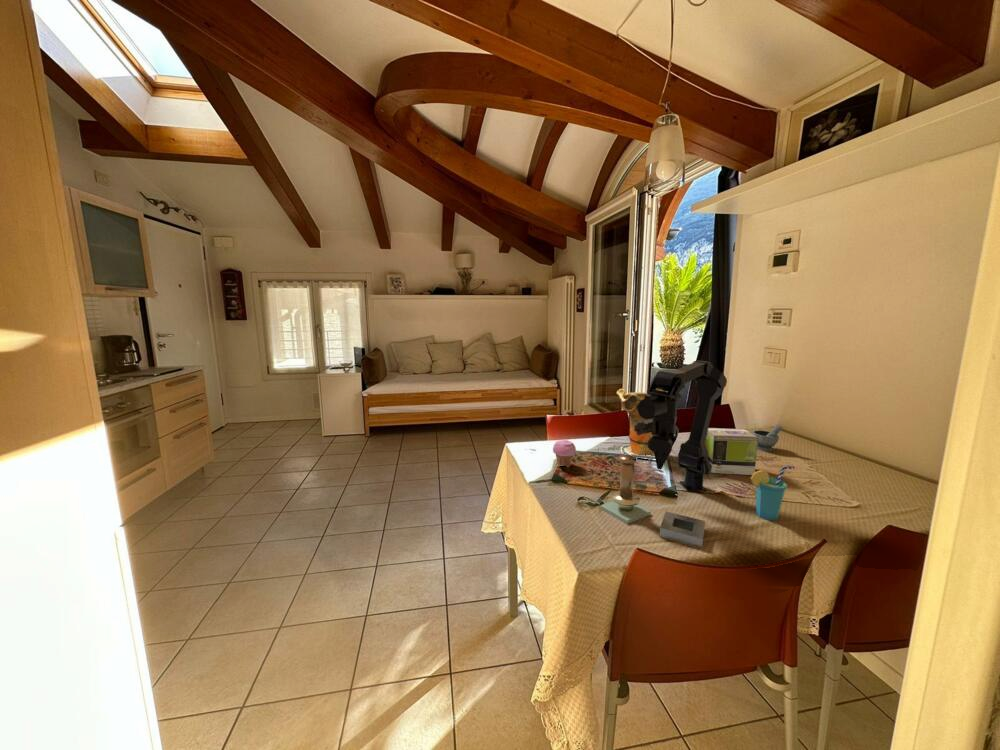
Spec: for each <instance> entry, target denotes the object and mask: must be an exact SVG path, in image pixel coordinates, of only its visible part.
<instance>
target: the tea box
mask: <svg viewBox="0 0 1000 750" xmlns="http://www.w3.org/2000/svg"><path fill="white" fill-rule="evenodd" d="M705 445H706V448H707V450H708V457H707V459H708V460H709V462H710V464H711V465H712V468H711V472H710V473H711V474H728V475H744V476H745V475H747V476H752V475H753V473H754V472H756V464H757V455H758V449H757V445H758V437H757V436H755V435H754V434H752V432H750V431H749V430H747V429H745V428H725V427H724V428H722V427H721V428H719V427H718V428H717V427H709V428H708V432H707V436H706V440H705Z"/></svg>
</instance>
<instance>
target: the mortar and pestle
mask: <svg viewBox="0 0 1000 750" xmlns="http://www.w3.org/2000/svg"><path fill="white" fill-rule="evenodd" d="M783 430H784V428H783V426H781V425H780V424H775V426H774V427H773V428H772V430H762V429H761V430H760V429H756V430H755V429H754V430H752V431H751V433H752V434H754V435H755V436H757V437H758V445H757V451H762V452H767V453H768V452H772V451H773V447H775V445H777V443H778V441H779V439H780V435H779V433H780V432H781V431H783Z"/></svg>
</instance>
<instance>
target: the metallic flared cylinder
mask: <svg viewBox="0 0 1000 750" xmlns="http://www.w3.org/2000/svg"><path fill="white" fill-rule="evenodd" d="M618 457H619V460H618V461H619V462H620V476H619V477H620V479H619V490H617V491H614V492H612V495H611V496H612V497H611V499H612V501H614V502H615V503H617V504H618V508H619V509H620V510H622V511H627V512H628V511H632V509H633V506H635V505H640V501H641V500H640V496H639V495H638V494H636V493H635V492H633V491H634V490H633V489H634V472H635V464H636V463H637V458H636V457H634V456H632V455H626V454H621V455H619V456H618Z"/></svg>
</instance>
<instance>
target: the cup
mask: <svg viewBox="0 0 1000 750" xmlns="http://www.w3.org/2000/svg"><path fill="white" fill-rule="evenodd" d="M786 469H789V470H794V469H795V466H793V465H784V466H783V467H781V469H780V471H779V474H778V478H775V477H772V476H770V475H769V473H768V472H766V471H764V470H762V469H760V470H757V471H755V472H754V473H753V475H751V477H750V482H751V484H752V486H754V487H756V489H755V490H756V491H755V492H756V494H755V497H756V498H755V500H756V501H755V515H756V516H758V517H759V518H761V519H764V520H766V521H777V520H778V518H779V515H780V510H781V507H782V503H783V499H784V496H785V492H786V489H787V487H788V484H787V483H786V482H784V481H783V480H782V478H783V476H784V474H785V472H786Z"/></svg>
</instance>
